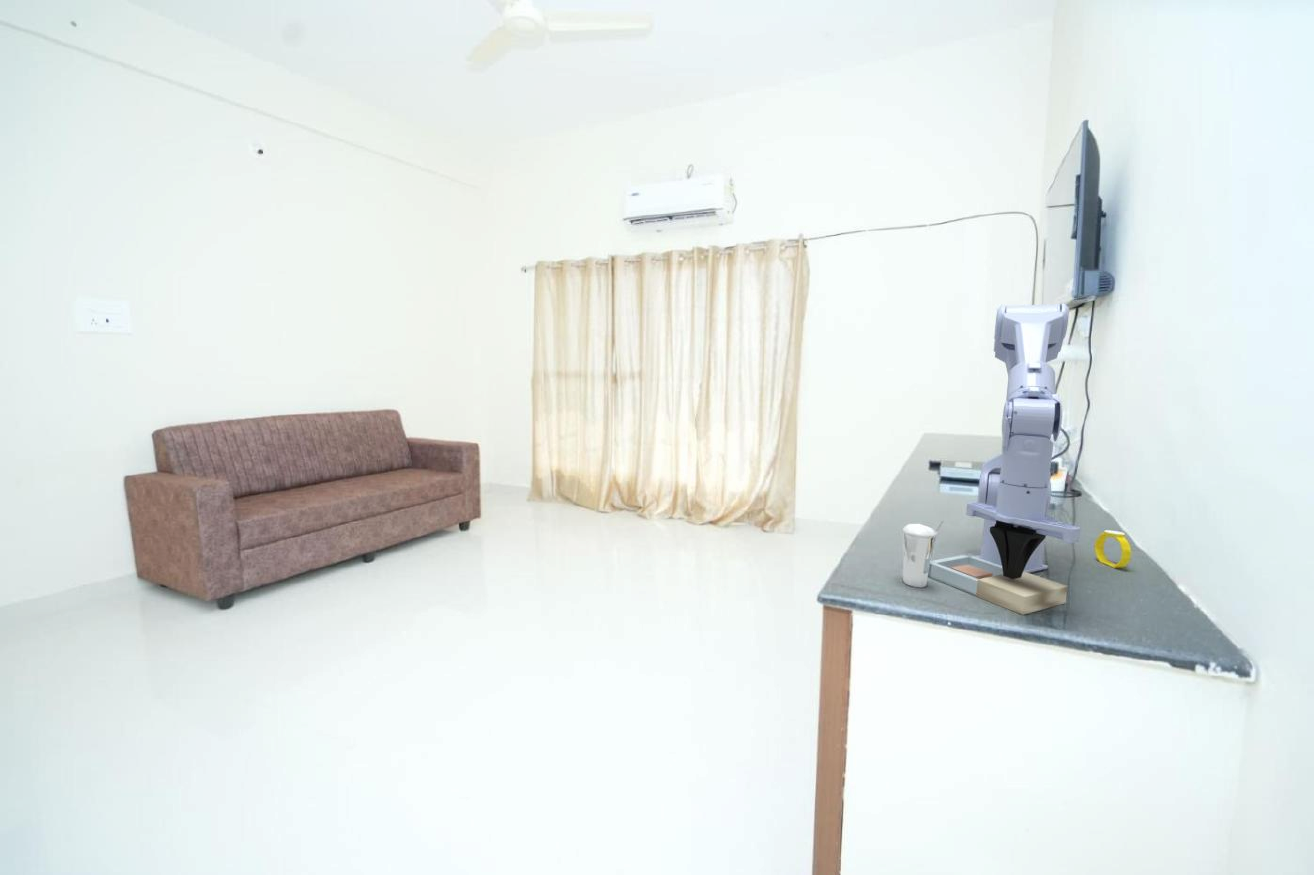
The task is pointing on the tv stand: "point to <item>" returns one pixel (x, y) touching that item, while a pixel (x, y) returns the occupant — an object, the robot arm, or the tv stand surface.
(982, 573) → the tile
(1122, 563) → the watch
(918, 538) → the milkshake
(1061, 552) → the tv stand surface
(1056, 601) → the beige wooden block
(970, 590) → the box
